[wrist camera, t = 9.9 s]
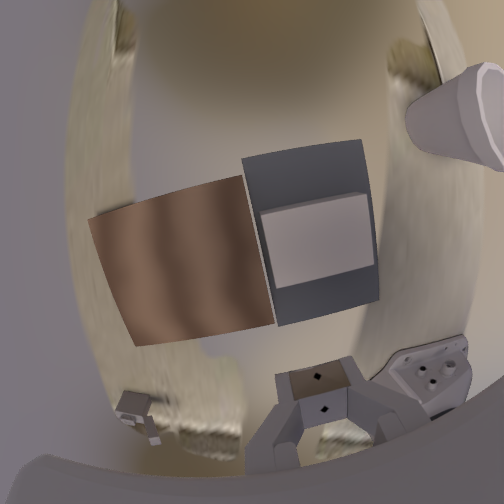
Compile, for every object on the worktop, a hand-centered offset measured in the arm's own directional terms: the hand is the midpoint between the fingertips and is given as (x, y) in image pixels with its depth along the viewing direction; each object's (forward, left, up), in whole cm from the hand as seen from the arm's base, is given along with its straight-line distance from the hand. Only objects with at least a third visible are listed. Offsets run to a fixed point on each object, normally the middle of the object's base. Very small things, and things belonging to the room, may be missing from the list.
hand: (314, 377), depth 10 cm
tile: (-5, 0, -18) cm, 19 cm away
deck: (+9, 0, -19) cm, 21 cm away
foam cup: (-21, -10, -19) cm, 30 cm away
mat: (-5, 0, -19) cm, 19 cm away
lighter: (+21, +18, -19) cm, 33 cm away
